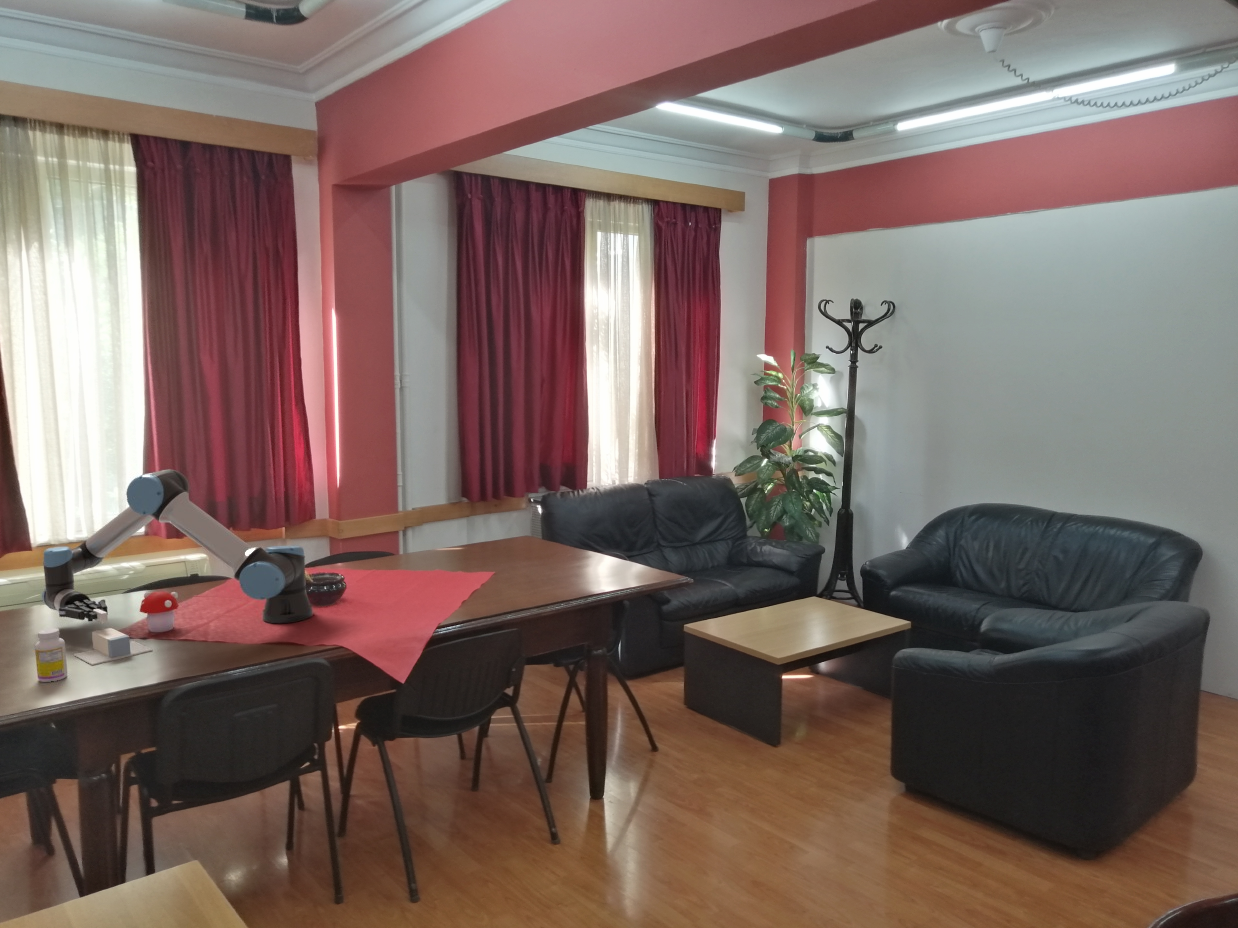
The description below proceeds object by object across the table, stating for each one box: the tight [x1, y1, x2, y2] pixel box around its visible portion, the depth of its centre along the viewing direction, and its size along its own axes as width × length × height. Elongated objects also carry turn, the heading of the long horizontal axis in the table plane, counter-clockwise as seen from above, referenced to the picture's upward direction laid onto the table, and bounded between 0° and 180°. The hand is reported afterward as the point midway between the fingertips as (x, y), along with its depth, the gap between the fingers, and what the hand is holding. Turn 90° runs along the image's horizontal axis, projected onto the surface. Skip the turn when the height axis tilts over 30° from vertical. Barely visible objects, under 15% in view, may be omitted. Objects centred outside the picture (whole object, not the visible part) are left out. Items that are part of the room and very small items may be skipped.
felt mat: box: [73, 640, 153, 666], centre depth 262 cm, size 13×16×1 cm
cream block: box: [91, 627, 131, 658], centre depth 263 cm, size 5×5×13 cm
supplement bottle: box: [34, 628, 68, 683], centre depth 241 cm, size 7×7×13 cm
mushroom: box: [139, 590, 179, 633], centre depth 284 cm, size 11×11×12 cm
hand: (104, 617), depth 264 cm, fingers closed
